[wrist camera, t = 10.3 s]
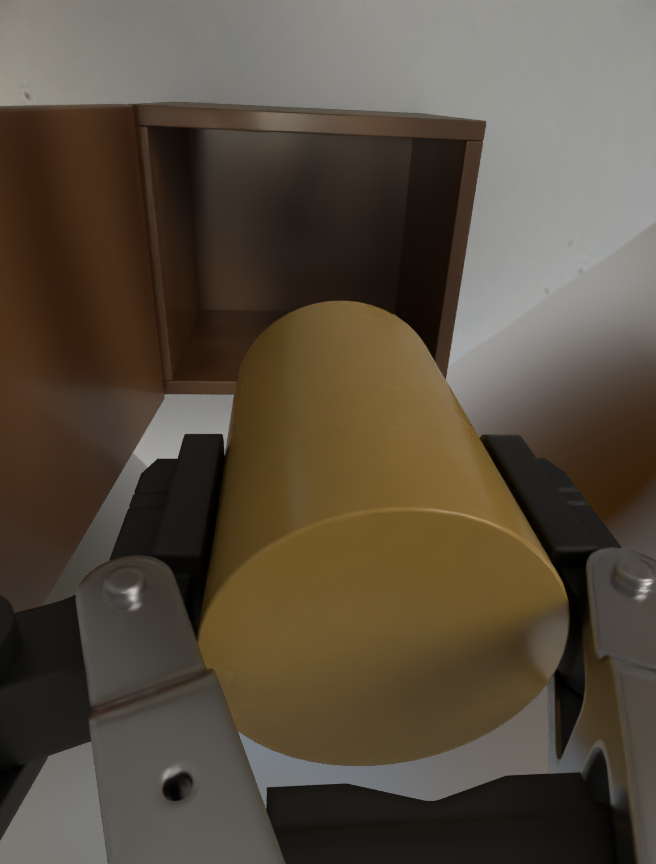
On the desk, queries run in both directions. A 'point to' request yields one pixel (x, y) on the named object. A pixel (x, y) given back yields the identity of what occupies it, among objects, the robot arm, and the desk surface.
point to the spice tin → (368, 553)
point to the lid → (69, 331)
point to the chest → (298, 223)
